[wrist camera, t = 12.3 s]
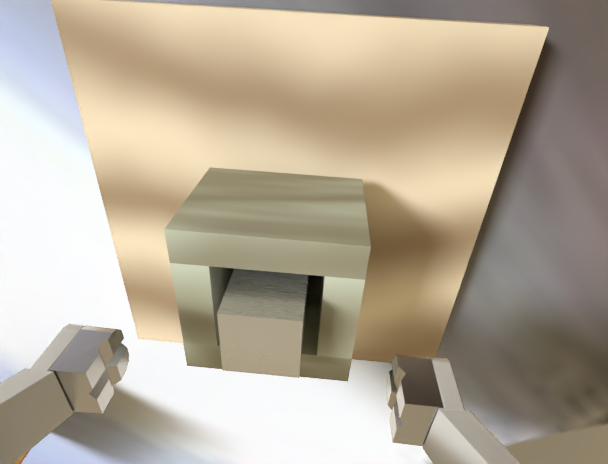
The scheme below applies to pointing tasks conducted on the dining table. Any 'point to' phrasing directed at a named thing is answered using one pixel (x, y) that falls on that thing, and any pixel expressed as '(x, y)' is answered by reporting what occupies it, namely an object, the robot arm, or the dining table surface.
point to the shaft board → (299, 150)
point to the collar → (272, 257)
